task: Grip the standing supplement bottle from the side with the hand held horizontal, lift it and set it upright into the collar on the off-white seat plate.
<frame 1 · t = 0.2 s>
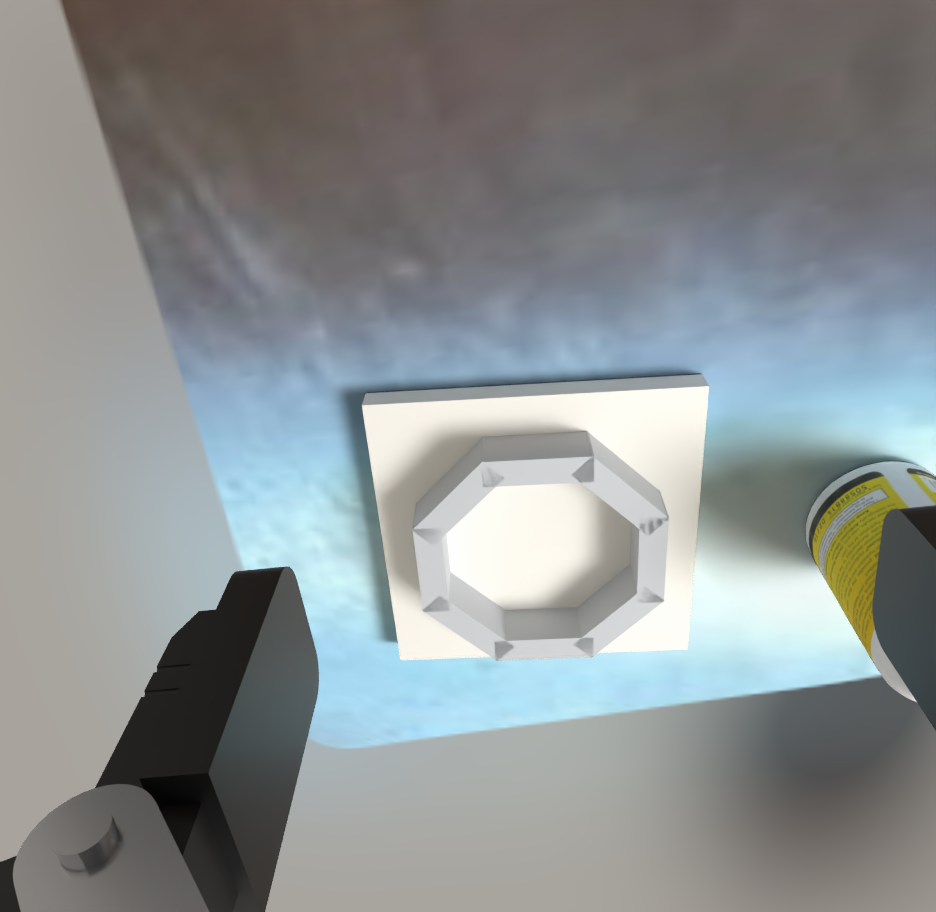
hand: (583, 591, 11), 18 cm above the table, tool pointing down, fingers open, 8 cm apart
supplement bottle: (871, 514, 32), on the table
seat plate: (537, 522, 32), on the table
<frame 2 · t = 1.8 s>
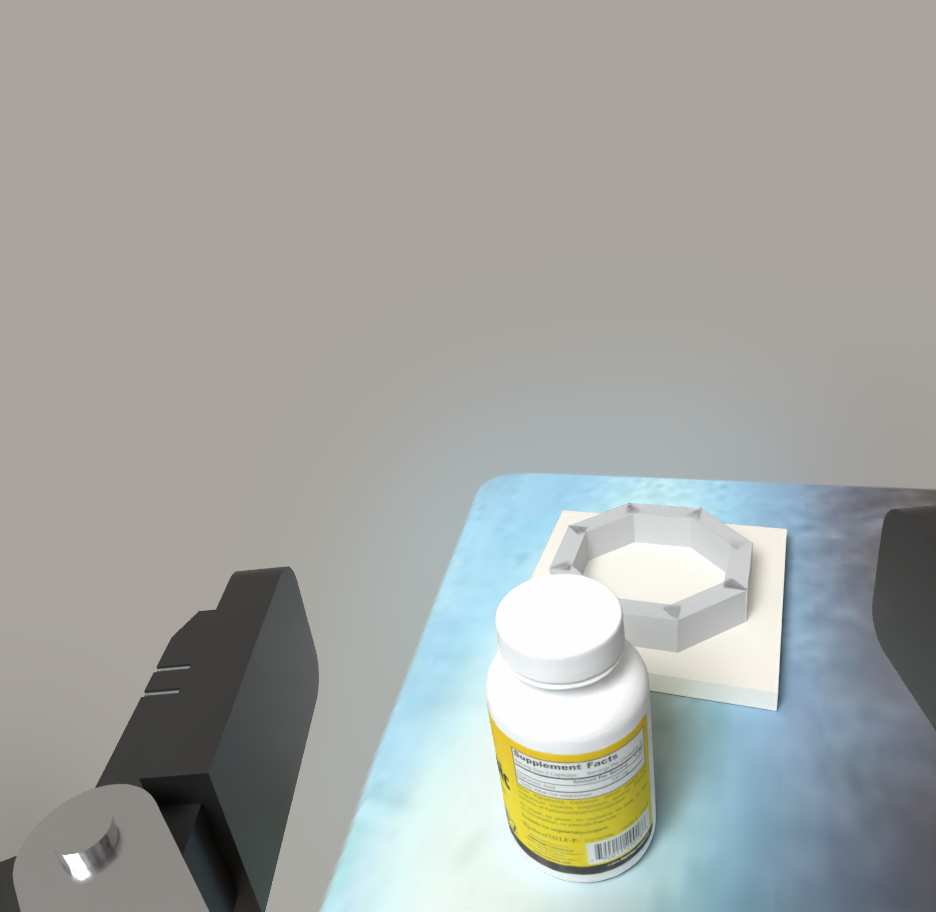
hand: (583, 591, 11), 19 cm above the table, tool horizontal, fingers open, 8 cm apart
supplement bottle: (580, 824, 30), on the table
seat plate: (652, 601, 40), on the table
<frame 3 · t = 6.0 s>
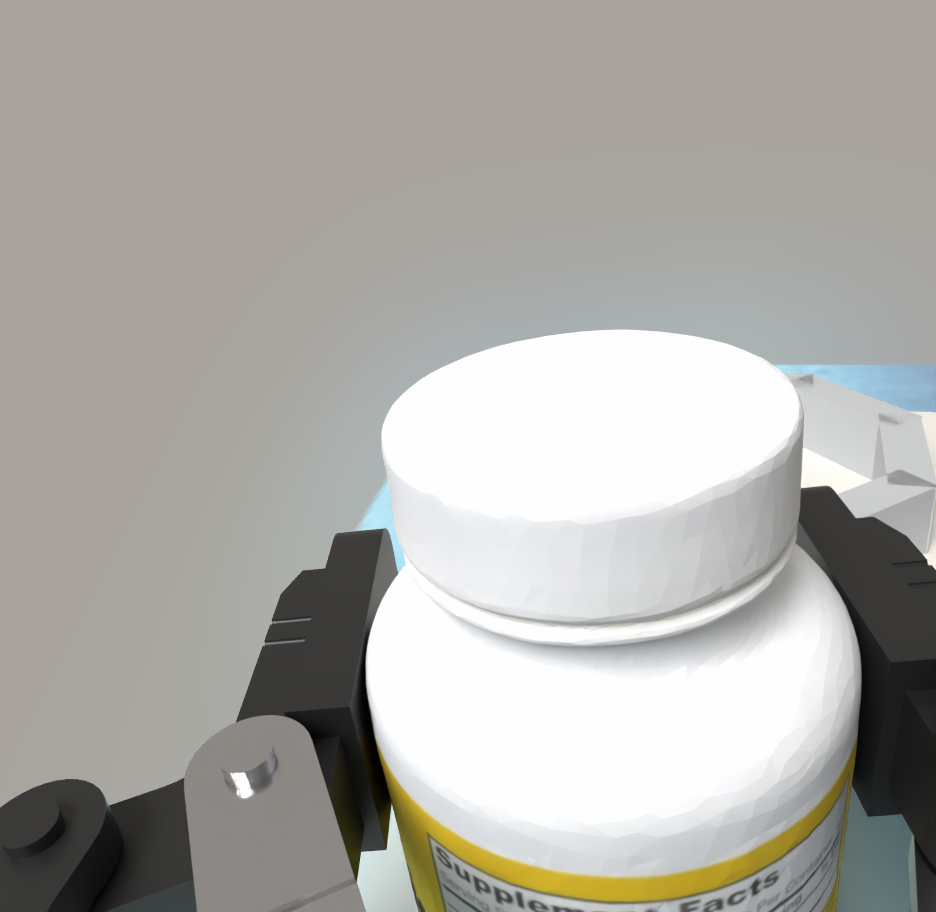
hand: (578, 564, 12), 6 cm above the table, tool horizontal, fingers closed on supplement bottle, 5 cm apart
seat plate: (731, 528, 23), on the table
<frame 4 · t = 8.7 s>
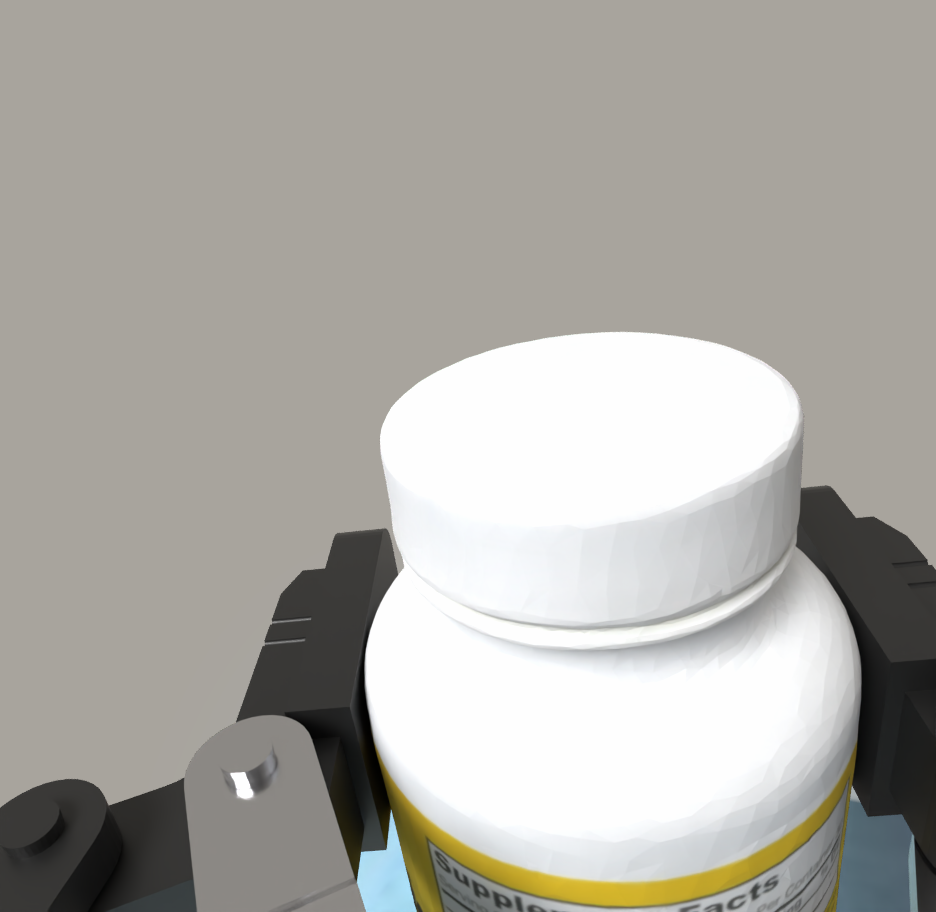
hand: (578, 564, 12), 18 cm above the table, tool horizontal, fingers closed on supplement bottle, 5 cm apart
when the fingers open (8 cm above the table, at t = 11.7 s): supplement bottle stays where it is, resting on seat plate.
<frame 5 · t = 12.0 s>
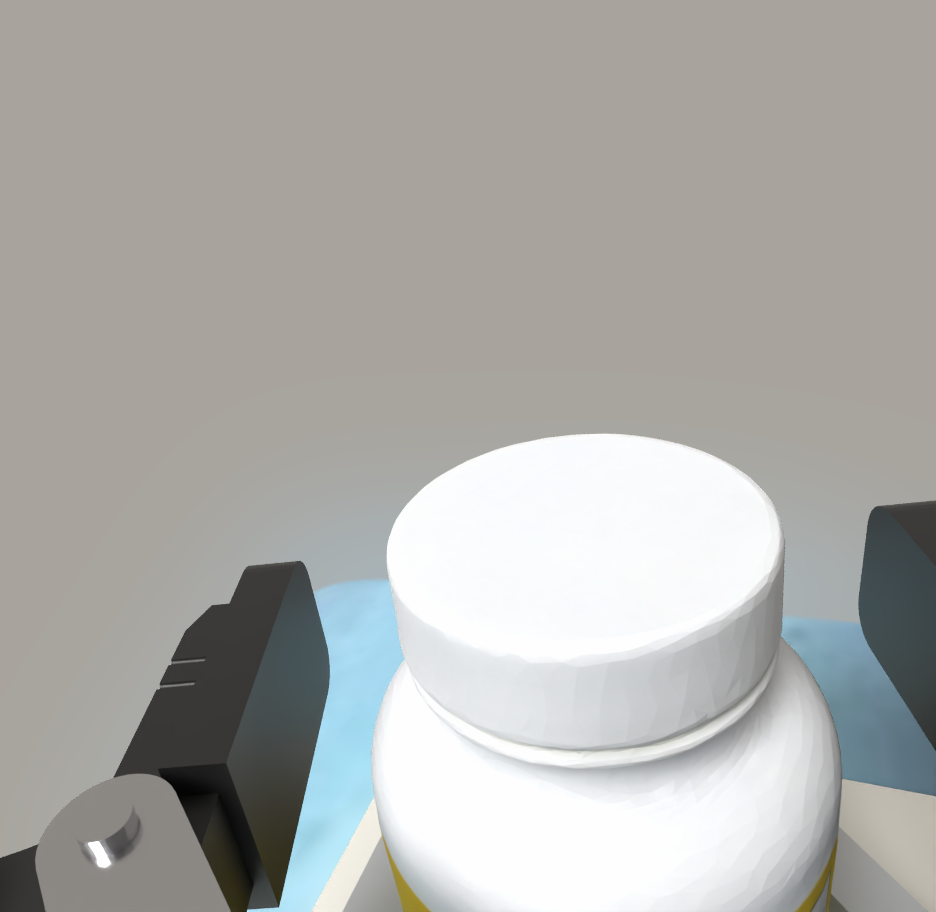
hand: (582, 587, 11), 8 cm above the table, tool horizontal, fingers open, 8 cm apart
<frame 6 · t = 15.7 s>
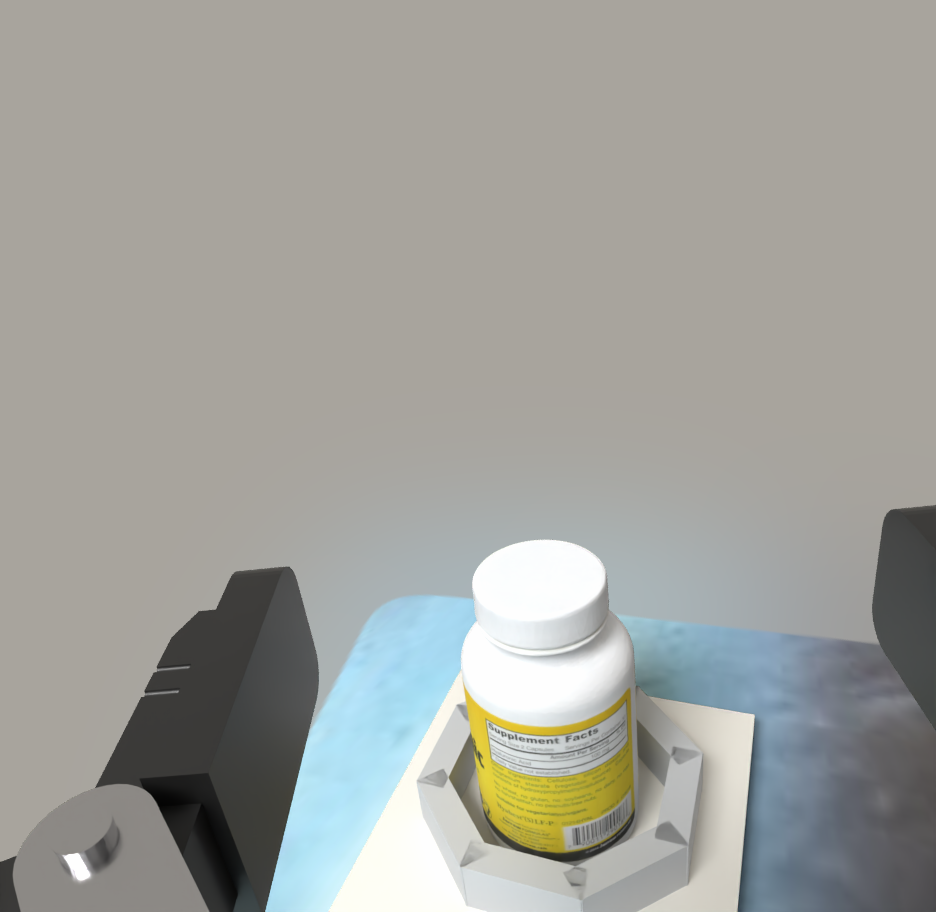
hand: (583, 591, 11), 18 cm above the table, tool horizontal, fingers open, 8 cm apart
supplement bottle: (559, 811, 28), point 1 cm above the table, touching seat plate
seat plate: (563, 824, 29), on the table
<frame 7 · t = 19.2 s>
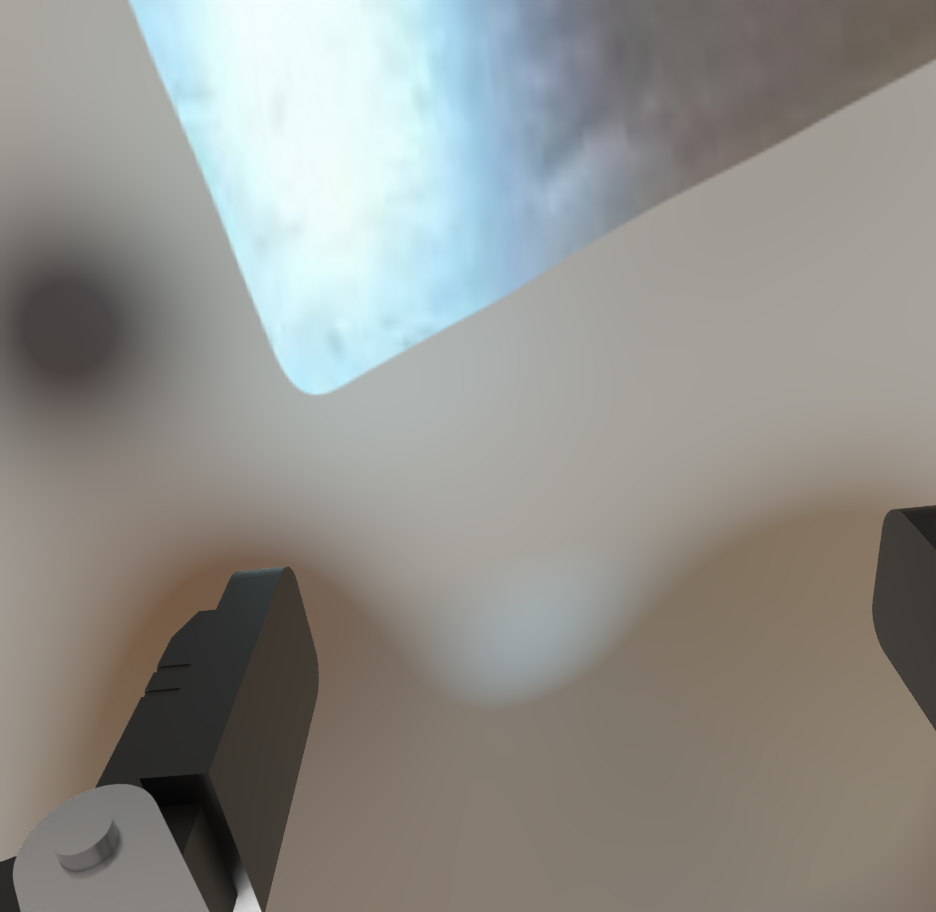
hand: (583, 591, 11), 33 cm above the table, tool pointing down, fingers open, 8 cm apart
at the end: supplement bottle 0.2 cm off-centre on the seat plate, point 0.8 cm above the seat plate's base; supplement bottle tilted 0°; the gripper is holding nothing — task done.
